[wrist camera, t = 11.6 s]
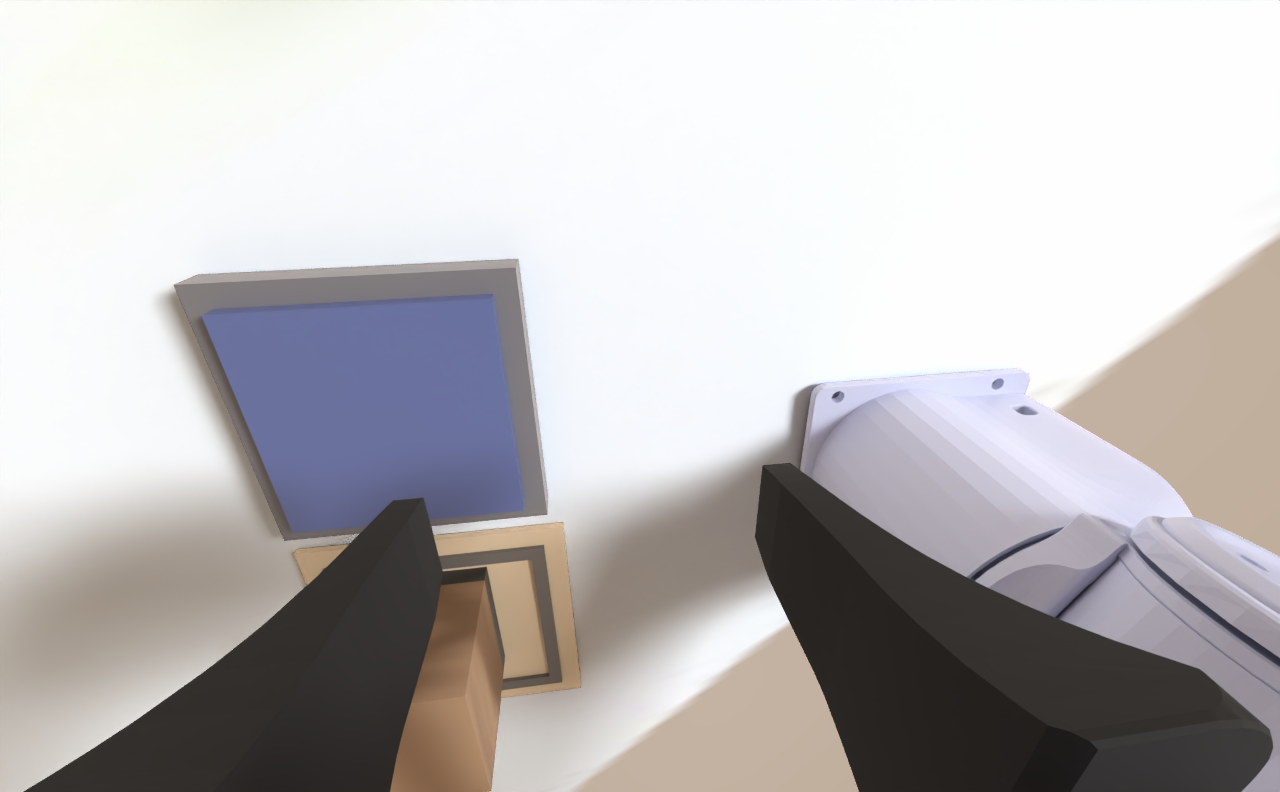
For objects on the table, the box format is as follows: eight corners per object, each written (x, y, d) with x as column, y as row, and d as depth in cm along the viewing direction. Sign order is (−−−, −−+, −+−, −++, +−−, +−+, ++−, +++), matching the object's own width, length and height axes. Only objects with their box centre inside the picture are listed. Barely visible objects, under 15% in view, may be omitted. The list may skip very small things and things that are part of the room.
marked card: (562, 522, 23) (563, 529, 23) (580, 682, 28) (581, 690, 28) (296, 549, 22) (291, 558, 22) (365, 710, 27) (361, 720, 27)
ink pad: (518, 258, 18) (514, 272, 16) (547, 495, 22) (546, 524, 21) (197, 274, 17) (160, 290, 15) (297, 519, 21) (276, 551, 20)
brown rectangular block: (486, 566, 23) (465, 696, 18) (505, 656, 26) (491, 791, 21) (392, 576, 23) (342, 712, 18) (421, 666, 26) (385, 807, 21)
